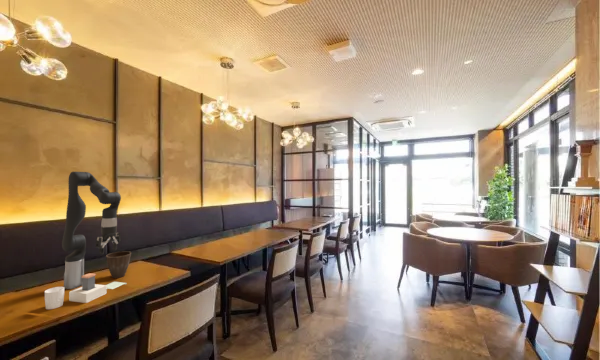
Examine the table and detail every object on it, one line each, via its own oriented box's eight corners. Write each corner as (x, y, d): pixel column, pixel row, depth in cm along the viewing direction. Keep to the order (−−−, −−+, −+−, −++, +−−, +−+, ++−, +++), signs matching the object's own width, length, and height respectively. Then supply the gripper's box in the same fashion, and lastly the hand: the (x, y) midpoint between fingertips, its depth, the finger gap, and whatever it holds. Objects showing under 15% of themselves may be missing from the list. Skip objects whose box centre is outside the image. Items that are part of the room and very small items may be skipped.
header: (69, 302, 145) (69, 291, 145) (90, 293, 156) (90, 283, 156) (86, 304, 142) (86, 293, 142) (106, 295, 154) (106, 285, 154)
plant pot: (108, 274, 188) (109, 252, 188) (132, 271, 194) (132, 250, 194) (103, 281, 175) (103, 258, 175) (128, 278, 181) (129, 255, 181)
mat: (99, 289, 162) (99, 287, 162) (114, 283, 172) (114, 281, 172) (112, 290, 160) (112, 289, 160) (126, 284, 170) (126, 282, 170)
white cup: (41, 312, 133) (41, 293, 133) (48, 306, 140) (48, 287, 140) (60, 309, 136) (60, 291, 136) (66, 303, 144) (67, 285, 144)
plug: (81, 298, 148) (81, 276, 148) (89, 294, 152) (89, 273, 152) (87, 299, 147) (87, 276, 147) (95, 295, 151) (95, 273, 151)
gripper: (114, 222, 161) (113, 248, 161) (92, 227, 147) (91, 255, 147) (124, 223, 159) (123, 249, 160) (103, 227, 145) (102, 256, 146)
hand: (108, 252), depth 153 cm, fingers open, 8 cm apart
